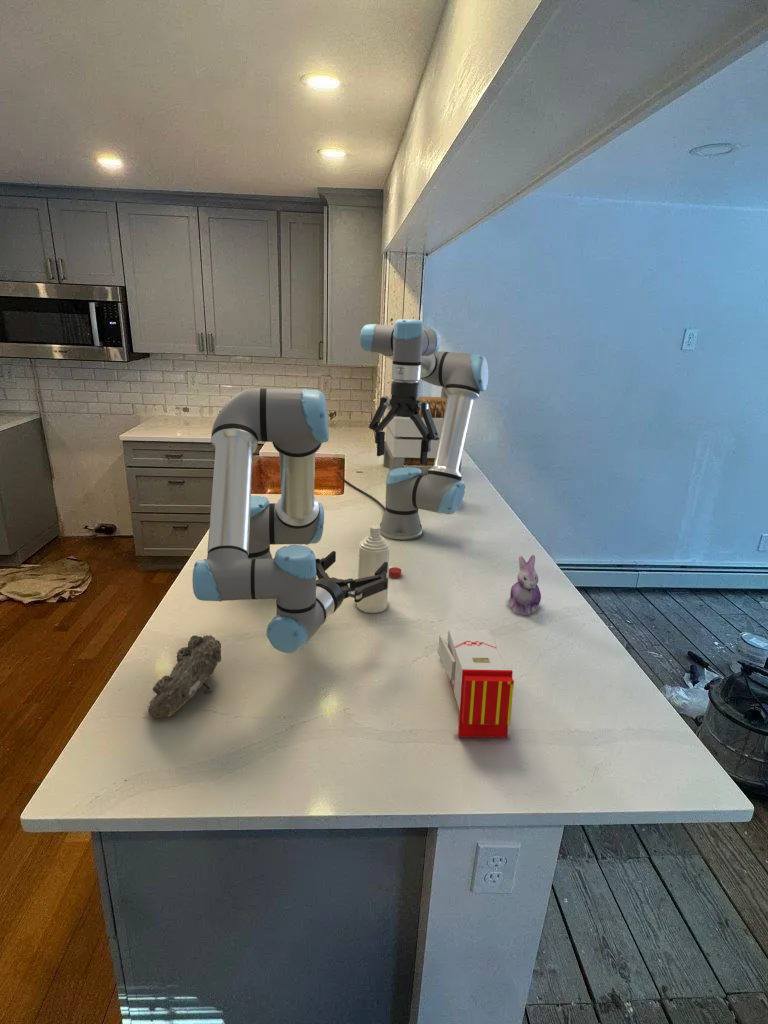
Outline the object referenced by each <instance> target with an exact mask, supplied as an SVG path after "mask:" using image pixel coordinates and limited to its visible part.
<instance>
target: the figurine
mask: <svg viewBox="0 0 768 1024" xmlns="http://www.w3.org/2000/svg"><path fill="white" fill-rule="evenodd" d="M535 563H536V555H535V554H532V555H530V557H529V559H528V561H526V560H525V558H524V556H523V555H519V557H518V564H519V571H518V573H517V578H516V581H517V582H515V583H514V584H513V585H512V586H511V588H510V593H509V602H508V603H509V607H510V608H511V609H512V610H513V613H515V614H518V615H524V616H529V615H530V614H534V613H536V612H537V611H538V609H539V606H540V603H541V600H542V594H541V589H540V588H539V585H538V583H539V575H538V573H537V571H536V567H535V565H536V564H535Z"/></svg>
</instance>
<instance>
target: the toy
mask: <svg viewBox="0 0 768 1024" xmlns="http://www.w3.org/2000/svg"><path fill="white" fill-rule="evenodd" d="M446 640H447V643H446V641H445V639H444V636H443V635H442V634H439V637H438V646H437V656H438V657H439V659H440V661H441V663H442V666H443V668H444V670H445V672H446V674H447V677H448V679H449V681H450V684H451V687H452V690H453V693H454V697H455V701H456V705H457V708H458V711H459V714H458V715H459V716H458V730H457V731H458V732H457V737H458V738H508V731H509V726H510V725H511V717H512V707H513V697H514V696H513V695H514V684H515V680H514V679H513V673H514V671H513V670H512V669H508V667H507V665H506V662H505V661H504V659H503V658H502V655H501V653H500V651H499V649H498V647H497V643H496V639H495V637H494V635H493V634H491V632H490V631H489V629H467V628H466V629H465V628H463V629H461V628H460V629H459V628H448V630H447V639H446Z"/></svg>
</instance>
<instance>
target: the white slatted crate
mask: <svg viewBox="0 0 768 1024" xmlns="http://www.w3.org/2000/svg"><path fill="white" fill-rule="evenodd" d="M440 393H441V394H440V396H419V397H418V400H419V402H429V405H430V413H431V415H432V418H433V421H434V424H435V427H436V430H437V432H438V438H435V439H432V440H431V450H430V452H428V453H427V463H425V464H420V454H421V440H424V438H423V436H422V435H421V433H420V432H419V430H418V428H417V427H416V425H415V423H414V422H413V420H411V419H410V417H403V416H397V415H396V416H395V417H394V418H393V419H392V420H391V421H390V422H389V423H388V424H387V426H386V427H385V442H384V455H383V466H384V467H388V468H389V472H390V471H391V470H393V469H397V468H404V467H405V466H406V467H410V466H411V467H417V466H418V467H432V466H433V465H434V460H435V456H436V451H437V446H438V441H439V437H440V432H441V427H442V422H443V418H444V413H445V408H446V404H447V399H448V395H447V394H446V392H445V387H441V392H440ZM391 409H392V407H391V405H390V403H389V405H388V406H387V408H386V413H385V414H386V415H387V414H388V412H389V411H390V410H391ZM417 411H418V413H419V414H420V418H421V419H422V421H423V422H424V424H425V426H426V423H425V421H424V418H423V415H422V411H421V410H420V408H419V407H418V409H417ZM386 415H385V416H386ZM426 427H427V426H426ZM462 461H463V460H462V457H461V461H460V466H459V473H460V474H461V472H462ZM461 475H462V474H461Z"/></svg>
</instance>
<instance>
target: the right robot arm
mask: <svg viewBox="0 0 768 1024" xmlns="http://www.w3.org/2000/svg"><path fill="white" fill-rule="evenodd" d="M359 345H360V347H361V348H362V350H363V351H364V352H369V353H378V354H380V355H382V356H383V357H385V358H387V359H389V360H391V361H392V362H391V379H392V381H391V383H390V386H391V387H390V397H389V396H387V395H386V396H382V397H380V398H379V405H378V407H377V409H376V412H375V413H374V415H373V417H372V419H371V422H370V423H369V425H368V429H369V430H372V431H374V443H375V444H376V457H381V456H384V442H386V441H385V438H386V431H384V429H386V426H387V424H388V423H389V422H390V421H391V420H392V419H393V418H394V417H395V416H396V415H397V416H403V417H410V419H411V420H413V422H414V423H415V425H416V427H417V428H418V430H419V432H420V433H421V435H422V436H423V438H424V440H421V454H420V464H425V463H427V453H428V452H430V450H431V440H432V439H435V438H438V432H437V430H436V427H435V424H434V421H433V418H432V415H431V413H430V405H429V402H419V400H418V397H420V386H421V385H420V382H419V381H420V380H421V381H423V382H426V383H428V384H430V385H433V386H436V387H441V388H442V387H445V392H446V394H447V395H448V399H447V404H446V408H445V413H444V418H443V422H442V427H441V432H440V437H439V441H438V446H437V451H436V456H435V460H434V465H433V466H432V465H431V466H430V468H428V469H427V472H426V474H422V470H421V468H419V467H415V466H411V467H410V466H406V467H405V466H404V468H397V469H393V470H391V471H390V470H389V471H388V473H387V475H386V480H385V481H386V482H385V504H382V503H381V502H380V501H379V500H377V499H376V498H375V497H374V496H372V495H371V494H369V493H367V492H366V491H364V490H362V489H360V488H359V487H357V486H355V485H353V484H352V483H350V482H349V481H348V480H346V479H345V478H344V477H343V476H342V475H341V473H340V471H337V475H338V477H339V478H340V479H341V480H342V481H343V482H344V483H346V484H347V485H348V486H350V487H352V488H353V489H355V490H357V491H358V492H360V493H362V494H363V495H365V496H367V497H368V498H370V499H371V500H372V501H374V502H375V503H377V504H378V505H379V506H380V507H381V508H382V510H383V515H382V519H381V522H379V526H380V528H381V529H380V535H381V536H382V537H384V538H387V539H389V540H395V541H410V540H415V539H418V538H420V537H421V536H422V535H423V525H422V524H421V518H420V515H419V510H421V511H422V510H423V511H427V512H433V513H437V514H439V515H442V514H444V515H453V514H455V513H456V512H457V511H458V510H459V508H460V507H461V505H462V502H463V500H464V497H465V492H466V484H465V482H464V481H462V478H463V476H462V474H460V473H459V466H460V461H461V458H462V457H463V449H464V447H465V442H466V437H467V432H468V428H469V423H470V418H471V413H472V407H473V404H474V402H475V400H477V399H478V398H479V397H480V393H481V392H485V391H486V390H487V387H488V384H489V364H488V361H487V358H486V357H485V356H484V355H483V354H477V353H473V352H471V353H468V352H467V353H465V352H455V351H454V352H453V351H440V350H439V349H440V347H441V345H442V336H441V334H440V332H439V331H438V330H437V329H435V327H431V326H424V322H423V320H421V319H405V318H404V319H403V318H398V319H396V320H395V321H394V324H393V325H391V324H377V323H370V324H369V323H368V324H364V326H363V327H362V328H361V330H360V335H359ZM389 403H390V405H391V407H392V409H391V410H390V411H389V412H388V414H387V415H385V416H384V414H385V411H387V406H388V405H389ZM418 407H419V408H420V410H421V411H422V415H423V418H424V421H425V423H426V426H427V427H426V426H425V424H424V422H423V421H422V419H421V418H420V414H419V413H418V411H417V409H418ZM383 416H384V417H383ZM384 505H385V506H384Z"/></svg>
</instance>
